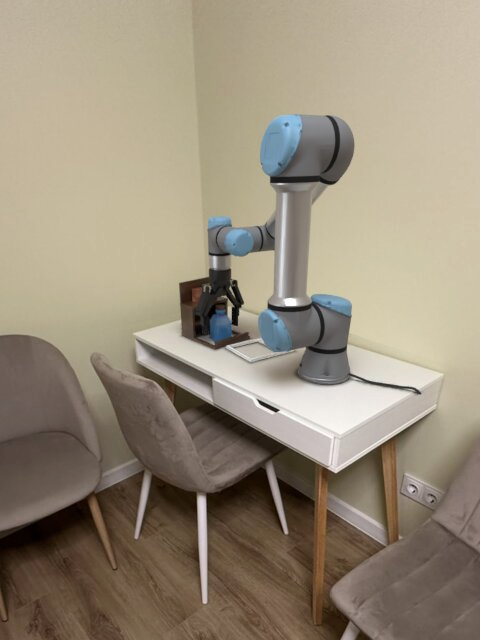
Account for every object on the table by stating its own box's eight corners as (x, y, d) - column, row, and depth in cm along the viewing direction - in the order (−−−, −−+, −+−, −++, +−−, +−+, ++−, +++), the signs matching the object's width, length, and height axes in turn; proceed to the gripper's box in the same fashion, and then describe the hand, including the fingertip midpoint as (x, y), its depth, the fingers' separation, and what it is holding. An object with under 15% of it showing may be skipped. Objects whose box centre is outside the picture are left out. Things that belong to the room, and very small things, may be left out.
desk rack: (249, 338, 169) (250, 284, 159) (215, 349, 160) (214, 293, 150) (215, 325, 181) (214, 275, 172) (181, 335, 172) (178, 282, 163)
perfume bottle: (210, 337, 170) (209, 304, 164) (226, 335, 172) (226, 302, 166) (215, 343, 165) (214, 309, 159) (231, 341, 167) (231, 307, 161)
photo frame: (295, 347, 157) (250, 358, 149) (294, 350, 158) (250, 362, 150) (269, 335, 168) (226, 345, 160) (269, 338, 168) (226, 348, 161)
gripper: (240, 260, 165) (239, 319, 176) (182, 271, 151) (186, 334, 163) (254, 264, 160) (253, 324, 172) (197, 275, 147) (199, 340, 158)
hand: (220, 329), depth 167 cm, fingers open, 13 cm apart
